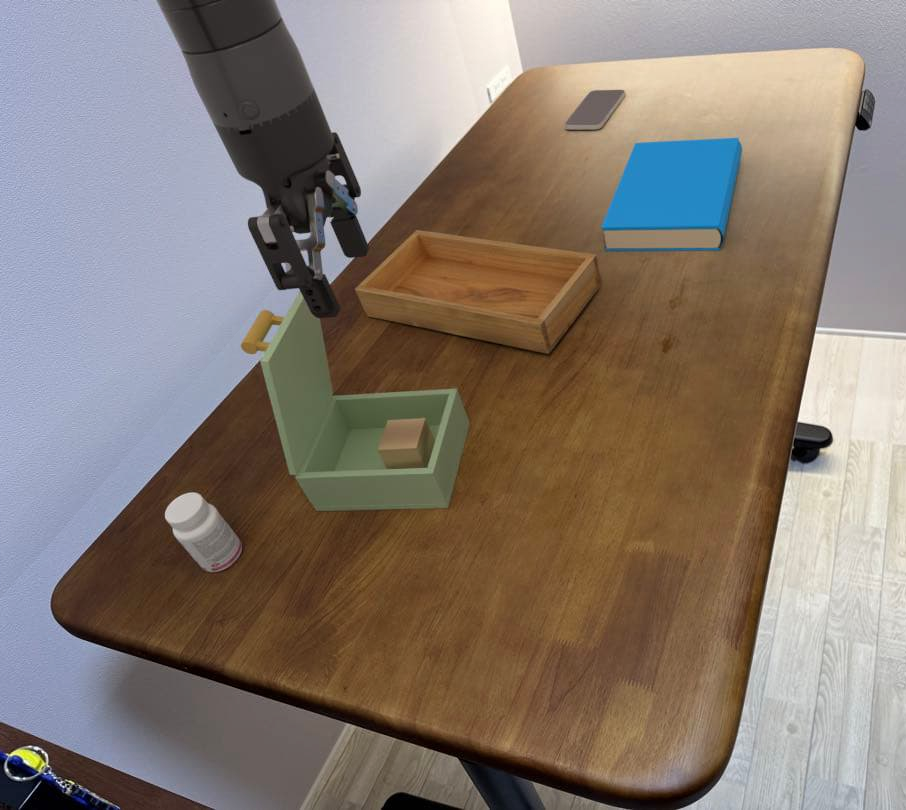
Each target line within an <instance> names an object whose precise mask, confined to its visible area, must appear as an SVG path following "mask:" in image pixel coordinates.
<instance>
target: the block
mask: <svg viewBox="0 0 906 810" xmlns="http://www.w3.org/2000/svg"><path fill="white" fill-rule="evenodd" d="M434 444H435V440H434V438H433V435H432V433H431V430H430V428H429V426H428V423H427V421H426V419H425V418H418V419H401V420H388V421H387V424H386V427H385V430H384V433H383V435H382V438H381V441H380V444H379V447H378V452H379V454H380V456H381V458H382V460H383V462H384V464H385V466H386V468H387V469H410V468H428V464H429V461H430V457H431V454H432V451H433V447H434Z"/></svg>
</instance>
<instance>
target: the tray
mask: <svg viewBox="0 0 906 810" xmlns="http://www.w3.org/2000/svg"><path fill="white" fill-rule="evenodd" d="M597 257H598V256H597V254H594V253H588V252H582V251H581V252H580V251H572V250H565V249H558V248H552V247H551V248H550V247H543V246H535V245H529V244H521V243H514V242H506V241H498V240H493V239H492V240H491V239H483V238H477V237H472V236H471V237H469V236H463V235H455V234H449V233H443V232H434V231H428V230H427V231H426V230H420V229H416V230H415V231H414V232H413V233H412V234H411V235H410V236H409V237H408V238H407V239H405V240H404V242H403V243H401V244H400V245H399V246H398V247H397V248H396V249H394V251H393V252H392V253H391V254H390V255H389V256H388V257H386V259H385V260H384V261H383V262H381V264H379V265H378V266H377V267H376V268H375V269H374V270H373V271H372V272H371V273H370V274H369V275H368V276H367V277H366V278H365V279H364V280H363V281H361V282H360V283H359V284H358V285H357V286H356V287H355V288H354V290H355V293H356V296H357V297H358V300H359V302H360V304H361V307H362V308H363V309H362V310H363V311H364V313H365V314H366V316H367V317H369V318H373V319H379V320H384V321H389V322H394V323H399V324H403V325H408V326H413V327H418V328H423V329H428V330H432V331H437V332H441V333H447V334H450V335H456V336H460V337H464V338H465V337H466V338H470V339H475V340H480V341H485V342H490V343H494V344H500V345H504V346H507V347H513V348H517V349H518V348H519V349H522V350H528V351H531V352H537V353H541V354H546V355H549V354H551V352H552V351H553V349H554V348H555V347H556V345H557V344H558V343H559V341H560V340H561V339H562V338H563V336H564V335H565V334H566V332H567V331H568V329H569V328H570V327H571V326H572V324H573V323H574V322H575V320H576V319H577V318H578V317H579V315H580V313H581V312H583V309H584V308H585V307H586V305H587V304H588V303H589V301H591V299H592V298H593V296H594V295H595V294H596V293H597V291H598V290H599V289H600V287H601V286H602V277H601V273H600V268H599V263H598V262H599V261H598V258H597Z"/></svg>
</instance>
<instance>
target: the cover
mask: <svg viewBox="0 0 906 810" xmlns="http://www.w3.org/2000/svg"><path fill="white" fill-rule="evenodd" d="M258 313H259V314H258V315H257V317H256V318H255V320H254V322H253V323H252V325H251V327H250V328H249V330H248V331H247V333H246V335H245V336H244V338H243V340H242V342H241V344H240V348H241V350H242V351H243V352H244V353H246V354H249V355H255V354H257V352H264V353H263V355H262V356H261V358H260V361H259V362H260V366H261V370H262V373H263V377H264V381H265V385H266V389H267V393H268V397H269V400H270V404H271V408H272V413H273V416H274V420H275V424H276V428H277V431H278V434H279V438H280V443H281V446H282V450H283V454H284V457H285V462H286V466H287V470H288V473H289V475H290V476H296V475H297V474H298V471H299V469H300V467H301V465H302V462H303V460H304V458H305V456H306V453H307V451H308V449H309V447H310V444H311V442H312V440H313V438H314V435H315V433H316V431H317V429H318V426H319V424H320V422H321V420H322V417H323V415H324V413H325V411H326V408H327V406H328V404H329V402H330V399H331V397H332V396H334V390H333V385H332V380H331V373H330V367H329V362H328V355H327V350H326V346H325V340H324V334H323V329H322V323H321V318H317V317H315V316H314V315H313V314H312V313H311V312H310V310H309V307H308V306H307V303H306V302H305V300H304V298H303V296H302V293H301V291H300V290H299V291H298V293H297V294H296V297H295V298H294V300H293V302H292V304H291V305H290V307H289V309H288V311H287V312H286V314H285V316H279V315H275V313H273V312H272V311H270V310H267V309H263V310H261V311H260V312H258ZM272 326H279V327H278V328H277V330H276V332H275V333H274V335H273V337H272V339H271V341H269V342H268V341H264V340H265V338H266V337H267V335H268V334H269V331H270V330H271V328H272Z"/></svg>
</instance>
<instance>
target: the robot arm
mask: <svg viewBox="0 0 906 810" xmlns="http://www.w3.org/2000/svg"><path fill="white" fill-rule="evenodd" d="M155 1H156V3H157V5H158V7H159V9H160V11H161V13H162V14H163V17H164V19H165V22H166V24H167V25H168V28H169V29H170V31H171V33H172V35H173V37H174V39H175V41H176V43H177V45H178V47H179V49H180V51H181V53H182V56H183V58H184V60H185V64H186V66H187V68H188V72H189V74H190V78H191V80H192V83H193V85H194V88H195V90H196V92H197V94H198V96H199V98H200V100H201V102H202V104H203V106H204V108H205V110H206V112H207V113H208V116H209V118H210V120H211V122H212V124H213V126H214V128H215V130H216V132H217V134H218V136H219V139H220V140H221V141H222V144H223V146H224V148H225V150H226V152H227V154H228V156H229V158H230V160H231V162H232V164H233V166H234V168H235V170H236V172H237V173H238V174H239V176H240V177H242V178H243V179H245V180H246V181H249V182H252V183H254V184H255V185H257V186H258V187H259V188H261V191H262V194H263V197H264V201H265V206H266V209H265V211H264V212H263V213H262V215H259V216H251V217H249V218H248V220H247V227H248V230H249V232H250V235H251V237H252V239H253V241H254V243H255V246H256V247H257V249H258V252H259V254H260V256H261V258H262V260H263V262H264V264H265V267H266V268H267V270H268V272H269V274H270V277H271V279H272V281H273V283H274V286H275V287H276V289H277V290H278V291H287V290H296V289H298V290H299V291H301V293H302V296H303V298H304V300H305V302H306V303H307V306H308V307H309V310H310V312H311V313H312V314H313V315H314V316H315V317H317V318H320V319H328V318H336V317H338V315H339V313H340V311H341V306H340V303H339V301H338V299H337V297H336V295H335V293H334V291H333V289H332V286H331V284H330V282H329V280H328V278H327V276H326V274H325V273H323V262H322V253H321V251H322V250H323V249H324V248H325V247H326V235H325V225H326V222H327V218H331V220H330V221H329V224H330V226H331V227H332V230H333V232H334V235H335V237H336V239H337V241H338V244H339V246H340V249H341V251H342V253H343V255H344V257H346V258H349V259H352V258H353V259H355V258H363V257H366V256H368V253H369V251H370V247H369V244H368V242H367V239H366V237H365V234H364V231H363V229H362V227H361V223H360V221H359V219H358V217H357V214H358V212H359V208H358V204H357V202H356V201H355V200H356V198H360V197H361V195H362V190H361V186H360V184H359V181H358V178H357V177H356V174H355V172H354V169H353V167H352V165H351V162H350V160H349V158H348V155H347V152H346V150H345V148H344V145H343V143H342V141H341V139H340V136H339V134H338V133H337V132H336V131H334V132H332V130H331V127H330V124H329V122H328V120H327V117H326V114H325V112H324V109H323V107H322V104H321V102H320V99H319V97H318V94H317V92H316V89H315V87H314V85H313V81H312V80H311V77H310V75H309V72H308V69H307V67H306V65H305V61H304V59H303V57H302V55H301V52H300V50H299V48H298V46H297V44H296V42H295V40H294V38H293V37H292V34H291V32H290V31H289V29H288V27H287V25H286V23H285V21H284V19H283V17H282V14H281V12H280V8H279V6H278V4H277V1H276V0H155ZM339 176H341V177H342V178H343V179H344V181H345V183H343V184H342V183H341V182H340V181H339V180H338V179H336V177H339ZM294 233H295V234H299V235H303V234H309V236H308V238H303V239H296V237H295V235H294ZM302 252H306V253H307V259H308V260H307V261H308V265H307V263H306V261H305V258H304V256H303V254H302ZM282 264H285V269H284V266H283V265H282Z"/></svg>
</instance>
